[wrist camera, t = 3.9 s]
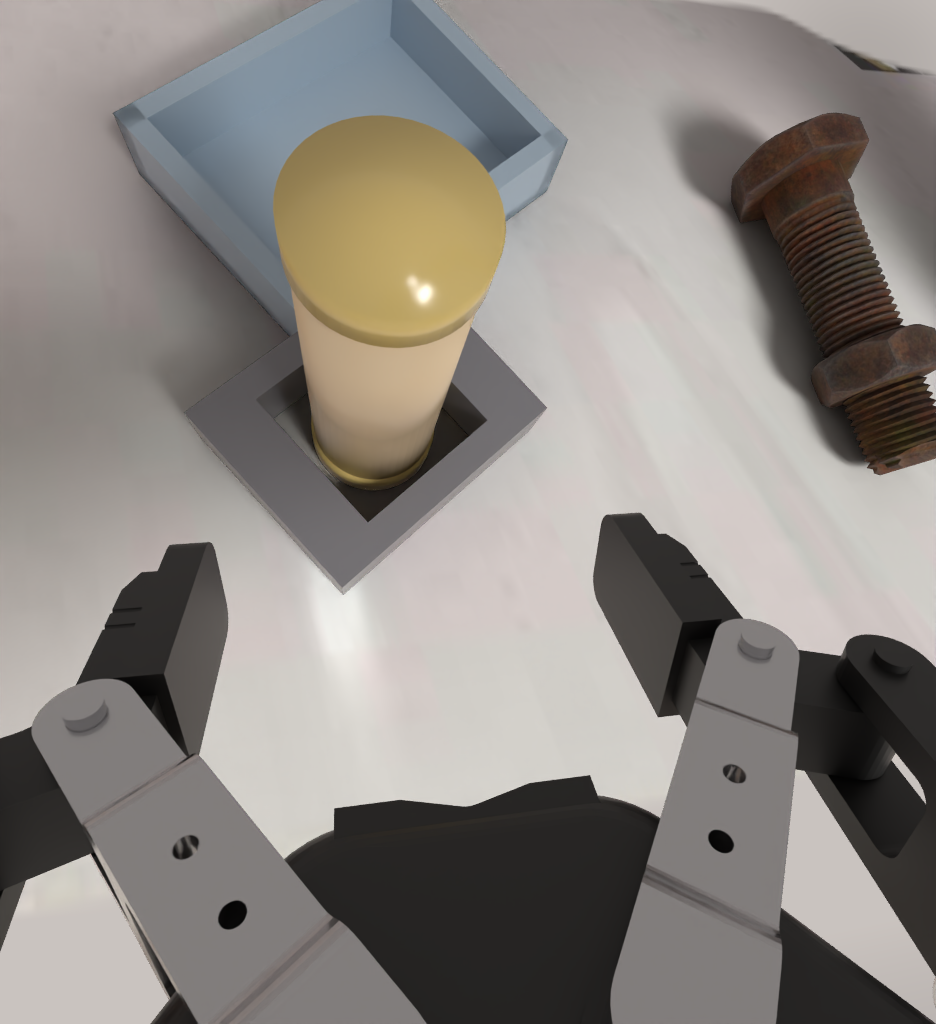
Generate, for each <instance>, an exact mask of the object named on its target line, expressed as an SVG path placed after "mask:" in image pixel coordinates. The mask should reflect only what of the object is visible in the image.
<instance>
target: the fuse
mask: <svg viewBox="0 0 936 1024" xmlns="http://www.w3.org/2000/svg"><path fill="white" fill-rule="evenodd" d="M273 214H274V222H275V228H276V234H277V239H278V245H279V251H280V256H281V262H282V265H283V269H284V273H285V275H286V278H287V280H288V282H289V284H290V287H291V292H292V298H293V304H294V310H295V316H296V322H297V328H298V335H299V341H300V347H301V353H302V359H303V365H304V371H305V377H306V383H307V389H308V395H309V401H310V407H311V413H312V416H311V429H312V436H313V441H314V446H315V450H316V452H317V455H318V457H319V459H320V461H321V462H322V464H323V465H324V467H325V468H326V469H327V470H328V471H329V472H330V473H331V474H332V475H333V476H334V477H336V478H337V479H338V480H340V481H341V482H343V483H345V484H347V485H349V486H352V487H355V488H358V489H363V490H384V489H389V488H392V487H395V486H398V485H400V484H402V483H404V482H405V481H407V480H408V479H410V478H411V477H412V476H413V475H414V474H415V473H416V472H417V471H418V470H419V469H420V468H421V466H422V465H423V463H424V461H425V460H426V457H427V455H428V452H429V449H430V447H431V444H432V441H433V437H434V428H435V425H436V422H437V419H438V417H439V414H440V411H441V408H442V405H443V403H444V400H445V397H446V394H447V391H448V389H449V386H450V383H451V380H452V377H453V375H454V372H455V369H456V366H457V363H458V361H459V358H460V355H461V352H462V349H463V347H464V344H465V341H466V338H467V335H468V333H469V330H470V327H471V324H472V322H473V319H474V316H475V313H476V312H477V310H478V309H479V308H480V306H481V304H482V303H483V301H484V299H485V297H486V295H487V292H488V290H489V287H490V285H491V282H492V279H493V277H494V274H495V271H496V269H497V266H498V263H499V260H500V258H501V255H502V251H503V247H504V243H505V234H506V222H505V213H504V208H503V203H502V201H501V198H500V195H499V192H498V190H497V188H496V186H495V184H494V182H493V180H492V178H491V177H490V175H489V174H488V172H487V171H486V169H485V168H484V166H483V165H482V164H481V163H480V162H479V160H478V159H477V158H476V157H475V156H474V155H473V154H472V153H471V152H470V151H469V150H468V149H466V148H465V147H464V146H463V145H461V144H460V143H459V142H457V141H456V140H455V139H453V138H452V137H450V136H448V135H447V134H445V133H443V132H442V131H440V130H437V129H435V128H433V127H431V126H429V125H426V124H423V123H420V122H417V121H414V120H410V119H405V118H401V117H394V116H385V115H369V116H360V117H353V118H349V119H345V120H341V121H338V122H335V123H333V124H330V125H328V126H326V127H324V128H322V129H320V130H318V131H316V132H315V133H313V134H312V135H310V136H309V137H308V138H306V139H305V140H304V141H303V142H302V143H301V144H300V145H299V146H297V147H296V148H295V150H294V151H293V152H292V153H291V155H290V156H289V157H288V159H287V160H286V162H285V164H284V165H283V167H282V169H281V171H280V174H279V176H278V179H277V182H276V186H275V191H274V196H273Z"/></svg>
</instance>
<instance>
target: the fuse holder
mask: <svg viewBox="0 0 936 1024" xmlns="http://www.w3.org/2000/svg"><path fill="white" fill-rule="evenodd" d="M306 393H308V389H307V383H306V377H305V371H304V365H303V359H302V353H301V347H300V341H299V335H298V331H297V332H296V333H294V334H293V335H292V336H290V337H289V338H287V339H286V340H285V341H283V342H282V343H280V344H279V345H278V346H276V347H275V348H273V349H272V350H271V351H269V352H268V353H266V354H265V355H264V356H262V357H261V358H259V359H258V360H257V361H255V362H254V363H252V364H251V365H250V366H248V367H247V368H245V369H244V370H243V371H241V372H240V373H238V374H237V375H236V376H234V377H233V378H231V379H230V380H229V381H227V382H226V383H224V384H223V385H222V386H220V387H219V388H217V389H216V390H215V391H213V392H212V393H211V394H209V395H208V396H206V397H205V398H204V399H202V400H201V401H199V402H198V403H197V404H195V405H194V406H192V407H191V408H190V409H188V410H187V411H185V412H184V414H185V415H186V417H187V418H188V420H189V421H190V423H191V424H192V425H193V427H194V428H195V430H196V431H197V433H198V434H199V436H200V437H201V438H202V439H203V441H204V442H205V443H206V444H207V445H208V446H209V447H210V448H211V449H212V450H213V452H214V453H215V454H216V455H217V456H218V457H219V458H220V459H221V460H222V462H223V463H224V464H225V465H226V466H227V467H228V468H229V469H230V470H231V471H232V473H233V474H234V475H235V476H236V477H237V478H238V479H239V480H240V481H241V483H242V484H243V485H244V486H245V487H246V488H247V489H248V490H249V491H250V492H251V494H252V495H253V496H254V497H255V498H256V499H257V500H258V501H259V502H260V504H261V505H262V506H263V507H264V508H265V509H266V510H267V511H268V512H269V513H270V515H271V516H272V517H273V518H274V519H275V520H276V521H277V522H278V523H279V525H280V526H281V527H282V528H283V529H284V530H285V531H286V532H287V533H288V534H289V536H290V537H291V538H292V539H293V540H294V541H295V542H296V543H297V544H298V546H299V547H300V548H301V549H302V550H303V551H304V552H305V553H306V554H307V555H308V557H309V558H310V559H311V560H312V561H313V562H314V563H315V564H316V565H317V567H318V568H319V569H320V570H321V571H322V572H323V573H324V574H325V575H326V577H327V578H328V579H329V580H330V581H331V582H332V583H333V584H334V585H335V586H336V588H337V589H338V590H339V591H340V592H341V593H342V594H343V595H344V594H345V593H346V592H347V591H348V590H349V589H351V588H352V587H353V586H354V585H355V584H356V583H357V582H359V581H360V580H361V579H362V578H363V577H364V576H365V575H366V574H368V573H369V572H370V571H371V570H372V569H373V568H374V567H376V566H377V565H378V564H379V563H380V562H381V561H382V560H383V559H385V558H386V557H387V556H388V555H389V554H390V553H391V552H393V551H394V550H395V549H396V548H397V547H398V546H399V545H400V544H402V543H403V542H404V541H405V540H406V539H407V538H408V537H409V536H411V535H412V534H413V533H414V532H415V531H416V530H417V529H419V528H420V527H421V526H422V525H423V524H424V523H425V522H426V521H428V520H429V519H430V518H431V517H432V516H433V515H434V514H436V513H437V512H438V511H439V510H440V509H441V508H442V507H443V506H445V505H446V504H447V503H448V502H449V501H450V500H451V499H453V498H454V497H455V496H456V495H457V494H458V493H459V492H460V491H462V490H463V489H464V488H465V487H466V486H467V485H468V484H470V483H471V482H472V481H473V480H474V479H475V478H476V477H477V476H479V475H480V474H481V473H482V472H483V471H484V470H485V469H486V468H488V467H489V466H490V465H491V464H492V463H493V462H494V461H496V460H497V459H498V458H499V457H500V456H501V455H502V454H503V453H505V452H506V451H507V450H508V449H509V448H510V447H511V446H513V445H514V444H515V443H516V442H517V441H518V440H519V439H520V438H522V437H523V436H524V435H525V434H526V433H527V432H528V431H529V430H530V429H531V428H532V427H533V425H534V424H535V423H536V421H537V420H538V419H539V418H540V416H541V415H542V414H543V412H544V411H545V410H546V409H547V407H546V406H545V405H544V404H543V403H542V402H541V401H540V400H539V399H538V398H537V397H536V396H535V395H534V393H533V392H532V391H531V390H530V389H529V388H528V387H527V386H526V385H525V384H524V383H523V382H522V381H521V380H520V379H519V378H518V376H517V375H516V374H515V373H514V372H513V371H512V370H511V369H510V368H509V367H508V366H507V365H506V364H505V363H504V362H503V361H502V359H501V358H500V357H499V356H498V355H497V354H496V353H495V352H494V351H493V350H492V349H491V348H490V347H489V346H488V345H487V344H486V342H485V341H484V340H483V339H482V338H481V337H480V336H479V335H478V334H477V333H476V332H475V331H474V330H473V329H472V328H471V327H470V330H469V333H468V335H467V338H466V341H465V344H464V347H463V349H462V352H461V355H460V358H459V361H458V363H457V366H456V369H455V372H454V375H453V377H452V380H451V383H450V386H449V389H448V391H447V394H446V397H445V400H444V403H443V405H442V407H443V408H444V410H445V411H446V412H447V413H448V414H449V415H450V416H451V417H452V418H453V419H454V420H455V421H456V422H457V424H458V425H459V426H460V427H461V428H462V429H463V430H464V431H465V432H466V433H467V434H468V435H469V437H468V438H466V439H465V440H464V441H463V442H462V443H460V444H459V445H458V446H457V447H456V448H455V449H453V450H452V451H451V452H450V453H449V454H448V455H446V456H445V457H444V458H443V459H442V460H441V461H439V462H438V463H437V464H436V465H435V466H434V467H432V468H431V469H430V470H429V471H428V472H427V473H425V474H424V475H423V476H422V477H421V478H420V479H418V480H417V481H416V482H415V483H414V484H412V485H411V486H410V487H409V488H408V489H407V490H405V491H404V492H403V493H402V494H401V495H400V496H398V497H397V498H396V499H395V500H394V501H393V502H391V503H390V504H389V505H388V506H387V507H386V508H384V509H383V510H382V511H381V512H380V513H379V514H377V515H376V516H375V517H374V518H373V519H372V520H370V521H369V522H367V521H366V520H365V519H364V518H363V517H362V515H361V514H360V513H359V512H358V511H357V510H356V509H355V508H354V507H353V506H352V504H351V503H350V502H349V501H348V500H347V499H346V498H345V497H344V496H343V495H342V494H341V492H340V491H339V490H338V489H337V488H336V487H335V486H334V485H333V484H332V483H331V481H330V480H329V479H328V478H327V477H326V476H325V475H324V474H323V473H322V472H321V471H320V469H319V468H318V467H317V466H316V465H315V464H314V463H313V462H312V461H311V460H310V458H309V457H308V456H307V455H306V454H305V453H304V452H303V451H302V450H301V449H300V448H299V446H298V445H297V444H296V443H295V442H294V441H293V440H292V439H291V438H290V437H289V435H288V434H287V433H286V432H285V431H284V430H283V429H282V428H281V427H280V426H279V425H278V423H277V422H276V421H275V420H274V419H273V418H275V417H276V416H277V415H279V414H280V413H281V412H283V411H284V410H285V409H287V408H288V407H289V406H291V405H292V404H293V403H295V402H296V401H297V400H299V399H300V398H301V397H303V396H304V395H305V394H306Z"/></svg>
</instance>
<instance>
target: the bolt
mask: <svg viewBox="0 0 936 1024" xmlns="http://www.w3.org/2000/svg"><path fill="white" fill-rule="evenodd" d="M868 141H869V138H868V136H867V134H866V131H865V129H864V127H863V124H862V122H861V120H860V118H859V117H855V116H852V115H848V114H842V113H827V114H822V115H820V116H817V117H815V118H812V119H810V120H807V121H804V122H802V123H799V124H797V125H795V126H793V127H791V128H789V129H787V130H785V131H783V132H782V133H780V134H778V135H776V136H774V137H773V138H771V139H769V140H768V141H767V142H765V143H764V144H763V145H762V146H760V147H759V148H758V149H757V150H756V151H755V152H754V153H753V154H752V155H751V156H750V157H749V159H748V160H747V161H746V162H745V163H744V164H743V165H742V166H741V168H740V169H739V170H738V171H737V173H736V174H735V175H734V177H733V179H732V186H731V200H732V204H733V206H734V209H735V211H736V214H737V216H738V219H739V221H740V223H744V222H749V221H755V220H761V219H767V222H768V225H769V227H770V230H771V232H772V235H773V237H774V239H775V240H777V242H778V244H779V245H780V248H781V251H782V252H783V257H784V258H785V261H786V264H787V265H788V270H790V271H791V272H790V274H791V276H793V277H794V278H793V282H795V283H797V285H796V289H798V290H799V293H798V294H799V296H800V297H801V298H802V299H801V303H802V304H805V305H804V310H806V311H808V312H807V313H806V314H807V317H811V318H810V320H809V323H810V324H813V326H812V329H813V331H816V333H815V335H814V336H815V337H816V338H819V339H818V341H817V343H818V344H820V345H822V346H821V347H820V350H821V351H824V354H823V357H824V358H826V359H824V360H823V361H821V362H820V363H818V364H817V365H816V366H815V367H814V368H813V371H812V375H811V380H812V383H813V385H814V388H815V391H816V393H817V396H818V398H819V400H820V403H821V404H822V405H824V406H826V407H829V408H834V407H838V406H841V405H843V406H847V408H846V409H845V412H847V413H850V414H849V416H848V419H850V420H853V421H852V423H851V425H850V426H854V427H856V428H855V429H854V431H853V433H856V434H858V436H857V438H856V440H859V441H861V443H860V445H859V447H861V448H865V449H864V450H863V452H862V454H863V455H867V457H866V459H865V460H864V461H866V462H870V464H869V465H868V467H867V468H869V469H873V471H874V473H875V474H878V475H883V474H886V473H889V472H892V471H896V470H899V469H902V468H906V467H909V466H912V465H916V464H919V463H922V462H926V461H929V460H932V459H935V458H936V413H935V412H936V406H933V404H934V402H935V401H936V400H935V399H931V398H929V397H930V396H931V395H932V394H933V393H932V392H929V391H926V390H927V389H928V387H929V386H930V385H928V384H925V383H923V382H924V381H925V380H926V378H927V377H923V376H925V375H927V374H929V373H931V372H932V371H934V370H936V330H935V328H932V327H929V326H925V325H921V324H913V325H909V326H903V325H900V324H901V322H902V321H903V319H901V318H897V317H898V315H899V314H900V312H899V311H894V310H895V309H896V307H897V305H896V304H891V303H892V301H893V300H894V298H893V297H892V296H888V295H889V294H890V293H891V290H890V289H886V287H887V286H888V283H887V282H883V280H884V279H885V276H884V275H883V274H880V273H881V272H882V271H883V270H882V269H881V268H880V267H878V265H879V264H880V263H879V261H878V260H875V259H876V254H874V253H872V251H873V250H874V249H873V247H872V246H869V245H870V243H871V241H870V240H869V239H867V237H868V234H867V233H866V232H864V231H865V227H864V225H862V220H861V219H860V218H859V212H858V211H856V209H857V208H856V206H855V203H854V194H853V191H852V189H851V186H850V184H849V182H848V179H849V178H851V176H852V174H853V172H854V170H855V168H856V166H857V164H858V162H859V160H860V158H861V156H862V154H863V152H864V150H865V148H866V146H867V144H868Z"/></svg>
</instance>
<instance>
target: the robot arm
mask: <svg viewBox="0 0 936 1024" xmlns="http://www.w3.org/2000/svg"><path fill="white" fill-rule="evenodd" d="M593 583H594V591H595V595H596V599H597V601H598V603H599V605H600V607H601V609H602V611H603V613H604V615H605V617H606V619H607V621H608V623H609V624H610V626H611V628H612V630H613V632H614V634H615V636H616V638H617V640H618V642H619V644H620V645H621V647H622V649H623V651H624V653H625V655H626V657H627V659H628V661H629V663H630V665H631V666H632V668H633V670H634V672H635V674H636V676H637V678H638V680H639V682H640V684H641V686H642V687H643V689H644V691H645V693H646V695H647V697H648V699H649V701H650V703H651V705H652V706H653V708H654V710H655V712H656V714H657V716H658V717H664V716H673V715H680V716H681V717H682V719H683V721H684V723H685V725H686V726H687V730H686V733H685V737H684V740H683V743H682V747H681V750H680V754H679V757H678V760H677V764H676V767H675V770H674V774H673V777H672V781H671V784H670V787H669V791H668V794H667V798H666V801H665V804H664V808H663V811H662V815H661V818H659V817H657V816H656V815H654V814H652V813H651V812H649V811H647V810H644V809H642V808H640V807H638V806H636V805H633V804H630V803H627V802H624V801H622V800H618V799H614V798H609V797H605V796H597V793H596V790H595V788H594V785H593V782H592V780H591V777H590V775H589V776H581V777H573V778H566V779H558V780H550V781H542V782H535V783H529V784H527V785H524V786H521V787H519V788H516V789H514V790H511V791H509V792H506V793H504V794H501V795H499V796H496V797H494V798H491V799H489V800H486V801H484V802H481V803H479V804H476V805H473V806H468V807H461V806H452V805H442V804H433V803H424V802H414V801H405V800H396V801H388V802H380V803H373V804H365V805H357V806H350V807H342V808H334V830H333V831H330V832H328V833H325V834H323V835H321V836H319V837H317V838H315V839H313V840H311V841H309V842H307V843H306V844H304V845H303V846H301V847H300V848H298V849H297V850H295V851H294V852H292V853H291V854H290V855H289V856H288V857H286V858H285V859H283V858H282V857H281V855H280V854H279V853H278V852H277V850H276V849H275V848H274V847H273V845H272V844H271V843H270V842H269V840H268V839H267V838H266V837H265V836H264V834H263V833H262V832H261V831H260V829H259V828H258V827H257V826H256V824H255V823H254V822H253V821H252V819H251V818H250V817H249V816H248V815H247V813H246V812H245V811H244V810H243V808H242V807H241V806H240V805H239V803H238V802H237V801H236V800H235V799H234V797H233V796H232V795H231V794H230V792H229V791H228V790H227V789H226V787H225V786H224V785H223V784H222V782H221V781H220V780H219V779H218V778H217V776H216V775H215V774H214V773H213V771H212V770H211V769H210V768H209V766H208V765H207V764H206V763H205V762H204V760H203V759H202V758H201V757H200V756H199V753H200V748H201V744H202V740H203V736H204V731H205V727H206V723H207V719H208V714H209V710H210V706H211V701H212V697H213V693H214V689H215V684H216V680H217V676H218V672H219V667H220V663H221V659H222V654H223V650H224V646H225V642H226V637H227V631H228V610H227V603H226V599H225V594H224V589H223V585H222V580H221V576H220V571H219V567H218V562H217V558H216V553H215V549H214V547H213V545H212V543H211V542H205V543H190V544H175V545H169V547H168V548H167V550H166V553H165V555H164V557H163V560H162V562H161V564H160V567H159V569H158V571H155V572H141V573H140V574H139V575H138V576H137V577H136V578H135V579H134V580H133V581H131V582H130V583H129V584H128V585H127V586H126V587H125V588H124V589H122V591H121V593H120V595H119V597H118V599H117V601H116V603H115V605H114V607H113V609H112V611H113V613H111V614H110V615H109V618H108V620H107V622H106V624H105V630H102V632H101V634H100V636H99V638H98V640H97V642H96V644H95V647H94V649H93V651H92V653H91V655H90V657H89V659H88V661H87V663H86V665H85V667H84V669H83V671H82V674H81V676H80V678H79V680H78V682H77V684H76V685H75V686H73V687H71V688H69V689H67V690H65V691H63V692H61V693H60V694H58V695H57V696H55V697H54V698H53V699H51V700H50V701H49V702H48V703H47V704H46V705H45V706H44V707H43V708H42V709H41V710H40V711H39V713H38V714H37V716H36V718H35V720H34V722H33V725H32V727H29V728H27V729H25V730H23V731H21V732H18V733H15V734H12V735H10V736H6V737H3V738H0V951H1V948H2V945H3V942H4V940H5V937H6V934H7V931H8V929H9V926H10V923H11V920H12V918H13V915H14V912H15V909H16V907H17V904H18V901H19V898H20V895H21V893H22V890H23V887H24V884H25V882H26V880H28V879H30V878H33V877H35V876H37V875H40V874H42V873H45V872H47V871H50V870H52V869H54V868H57V867H59V866H62V865H64V864H67V863H69V862H71V861H74V860H76V859H79V858H81V857H84V856H86V855H88V854H90V856H91V858H92V860H93V861H94V863H95V865H96V867H97V869H98V870H99V872H100V874H101V876H102V878H103V879H104V881H105V883H106V885H107V886H108V888H109V890H110V892H111V894H112V895H113V897H114V899H115V901H116V903H117V904H118V906H119V908H120V910H121V912H122V913H123V915H124V917H125V919H126V921H127V922H128V924H129V926H130V928H131V929H132V931H133V933H134V935H135V937H136V939H137V941H138V942H139V944H140V946H141V948H142V950H143V952H144V954H145V956H146V958H147V960H148V962H149V964H150V965H151V967H152V969H153V971H154V973H155V975H156V977H157V979H158V980H159V982H160V984H161V986H162V988H163V990H164V991H165V993H166V995H167V997H168V999H169V1001H168V1002H167V1003H166V1005H165V1006H164V1007H163V1009H162V1010H161V1011H160V1012H159V1014H158V1015H157V1016H156V1018H155V1019H154V1020H153V1021H152V1023H151V1024H935V1023H934V1022H933V1021H932V1020H930V1019H929V1018H928V1017H926V1016H925V1015H924V1014H922V1013H921V1012H920V1011H918V1010H917V1009H915V1008H914V1007H913V1006H912V1005H910V1004H909V1003H908V1002H906V1001H905V1000H903V999H902V998H901V997H899V996H898V995H897V994H896V993H894V992H893V991H892V990H890V989H889V988H887V987H886V986H884V984H882V983H881V982H879V981H878V980H877V979H875V978H874V977H873V976H871V975H870V974H869V973H867V972H866V971H865V970H863V969H862V968H861V967H859V966H858V965H857V964H855V963H854V962H853V961H851V960H850V959H849V958H847V957H846V956H845V955H843V954H842V953H841V952H839V951H838V950H837V949H835V948H834V947H833V946H831V945H830V944H829V943H827V942H826V941H825V940H823V939H822V938H820V937H819V936H818V935H817V934H815V933H814V932H813V931H811V930H810V929H809V928H807V927H806V926H805V925H803V924H802V923H801V922H799V921H798V920H797V919H795V918H794V917H793V916H791V915H790V914H789V913H787V912H786V911H785V910H783V909H782V908H781V902H782V891H783V883H784V873H785V864H786V854H787V844H788V835H789V825H790V815H791V806H792V796H793V787H794V778H795V769H797V770H803V771H805V772H806V774H807V775H808V777H809V778H810V780H811V781H812V783H813V785H814V786H815V788H816V789H817V791H818V793H819V794H820V796H821V797H822V799H823V800H824V802H825V804H826V805H827V807H828V808H829V810H830V811H831V813H832V814H833V816H834V818H835V819H836V821H837V822H838V824H839V826H840V827H841V829H842V830H843V832H844V833H845V835H846V837H847V838H848V840H849V841H850V843H851V844H852V846H853V848H854V849H855V851H856V852H857V854H858V855H859V857H860V859H861V860H862V862H863V863H864V865H865V866H866V868H867V869H868V871H869V873H870V874H871V876H872V877H873V879H874V880H875V882H876V883H877V885H878V887H879V888H880V890H881V891H882V893H883V895H884V896H885V898H886V899H887V901H888V903H889V904H890V906H891V907H892V909H893V910H894V912H895V914H896V915H897V916H898V918H899V920H900V921H901V923H902V925H903V926H904V927H905V929H906V931H907V932H908V934H909V935H910V937H911V939H912V940H913V942H914V943H915V945H916V947H917V948H918V950H919V951H920V953H921V954H922V956H923V957H924V959H925V961H926V962H927V964H928V965H929V967H930V968H931V970H932V972H933V973H934V975H935V976H936V667H935V666H934V665H933V664H932V663H931V662H930V661H929V660H928V659H927V658H925V657H924V656H923V655H922V654H920V653H919V652H918V651H916V650H915V649H913V648H911V647H910V646H908V645H906V644H904V643H902V642H899V641H897V640H894V639H891V638H888V637H883V636H879V635H859V636H855V637H853V638H851V639H850V640H849V641H848V642H847V644H846V646H845V649H844V651H843V653H842V655H841V656H838V655H830V654H823V653H816V652H809V651H802V650H798V649H797V647H796V645H795V644H794V642H793V641H792V640H791V639H790V638H789V637H788V636H787V635H786V634H784V633H783V632H781V631H780V630H778V629H777V628H775V627H773V626H771V625H768V624H766V623H763V622H760V621H756V620H751V619H743V618H742V616H741V615H740V614H739V613H738V611H737V610H736V609H735V608H734V606H733V605H732V604H731V603H730V601H729V600H728V599H727V598H726V596H725V595H724V594H723V593H722V591H721V590H720V589H719V588H718V586H717V585H716V584H715V583H714V581H713V580H712V579H711V578H708V574H707V573H706V571H705V570H704V569H703V568H702V566H701V565H698V561H697V560H696V559H695V558H694V556H693V555H692V554H691V553H690V551H689V550H688V549H687V548H686V546H684V545H682V544H681V543H679V542H678V541H676V540H675V539H673V538H672V537H670V536H669V535H667V534H657V532H656V531H655V530H654V528H653V527H652V526H651V525H650V523H649V522H648V521H647V519H646V518H645V517H644V515H643V514H641V513H627V514H612V515H606V516H605V517H604V518H603V520H602V523H601V529H600V535H599V542H598V548H597V554H596V561H595V567H594V575H593ZM895 753H896V754H897V755H898V756H899V757H900V759H901V760H902V761H903V762H904V764H905V765H906V766H907V767H908V769H909V770H910V771H911V772H912V774H913V775H914V776H915V777H916V779H917V780H918V781H919V783H920V784H921V787H922V789H923V791H924V795H925V798H926V804H925V803H924V801H923V800H922V799H921V798H920V796H919V795H918V794H917V793H916V791H915V790H914V789H913V787H912V786H911V785H910V784H909V782H908V781H907V780H906V778H905V777H904V776H903V775H902V773H901V772H900V771H899V769H898V768H897V767H896V766H895V764H894V763H893V762H892V758H893V756H894V755H895ZM933 998H934V1003H935V1007H936V977H935V979H934V984H933Z"/></svg>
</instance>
